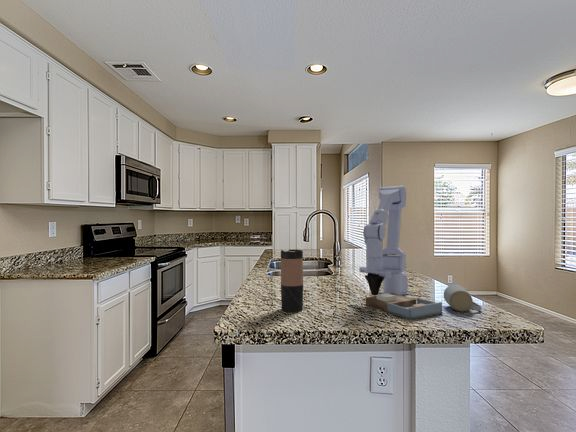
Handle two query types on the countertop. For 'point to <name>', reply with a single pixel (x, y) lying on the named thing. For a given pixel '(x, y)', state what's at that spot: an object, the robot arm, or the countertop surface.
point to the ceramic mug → (459, 299)
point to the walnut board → (382, 305)
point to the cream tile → (386, 297)
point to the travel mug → (292, 280)
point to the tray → (416, 309)
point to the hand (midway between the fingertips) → (374, 294)
